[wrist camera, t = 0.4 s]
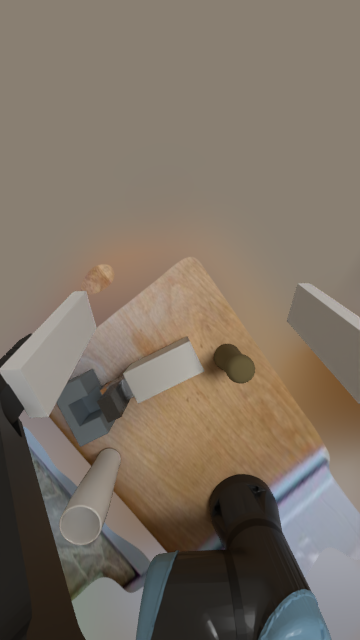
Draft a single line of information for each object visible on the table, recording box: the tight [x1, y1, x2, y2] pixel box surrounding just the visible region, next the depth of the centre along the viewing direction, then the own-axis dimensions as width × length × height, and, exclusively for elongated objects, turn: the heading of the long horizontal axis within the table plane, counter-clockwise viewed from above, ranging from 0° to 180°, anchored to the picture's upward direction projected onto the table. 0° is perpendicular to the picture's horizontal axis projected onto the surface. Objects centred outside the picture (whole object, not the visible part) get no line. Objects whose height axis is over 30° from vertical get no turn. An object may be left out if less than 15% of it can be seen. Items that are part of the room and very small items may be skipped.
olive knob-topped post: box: [214, 344, 255, 383], centre depth 42 cm, size 6×6×11 cm
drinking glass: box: [59, 448, 121, 545], centre depth 40 cm, size 7×7×15 cm
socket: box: [56, 369, 115, 447], centre depth 44 cm, size 12×6×7 cm, turn 26°
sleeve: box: [123, 337, 204, 403], centre depth 44 cm, size 6×14×7 cm, turn 116°
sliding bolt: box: [97, 375, 134, 423], centre depth 40 cm, size 4×18×11 cm, turn 116°
